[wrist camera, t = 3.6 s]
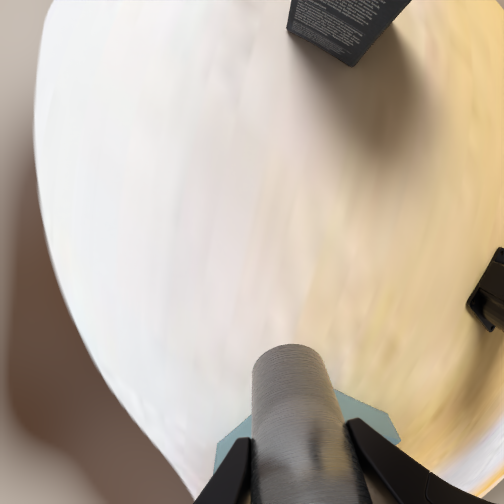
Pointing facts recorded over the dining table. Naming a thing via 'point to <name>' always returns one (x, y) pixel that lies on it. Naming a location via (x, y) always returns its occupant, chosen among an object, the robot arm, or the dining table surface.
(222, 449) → the hole block
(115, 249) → the dining table surface
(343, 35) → the box
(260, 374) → the peg
